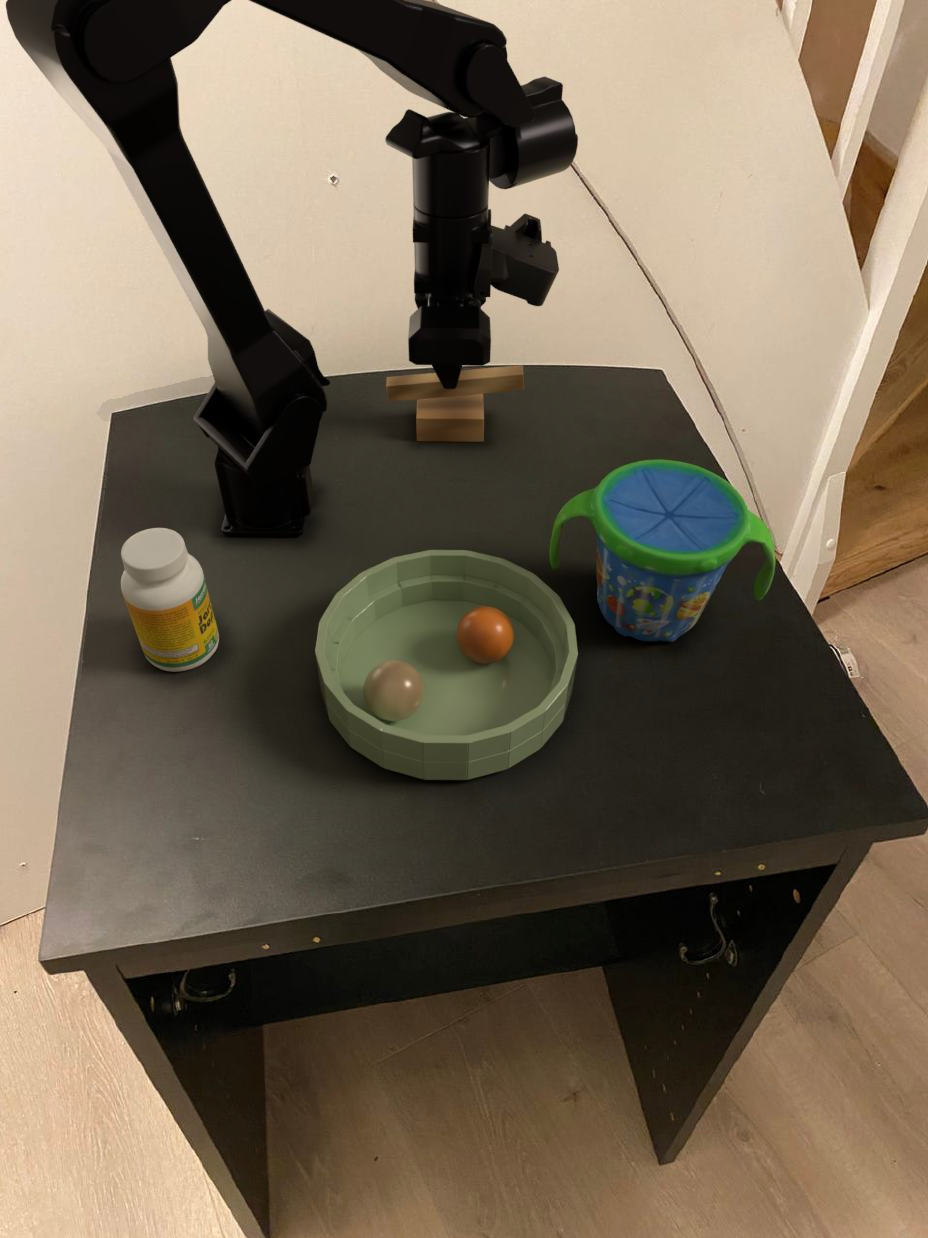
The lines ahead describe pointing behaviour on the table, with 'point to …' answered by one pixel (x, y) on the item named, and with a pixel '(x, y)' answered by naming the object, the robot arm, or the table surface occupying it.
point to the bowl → (447, 664)
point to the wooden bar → (467, 383)
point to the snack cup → (663, 544)
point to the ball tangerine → (485, 634)
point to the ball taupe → (393, 690)
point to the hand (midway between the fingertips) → (449, 382)
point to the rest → (451, 419)
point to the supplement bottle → (168, 600)
